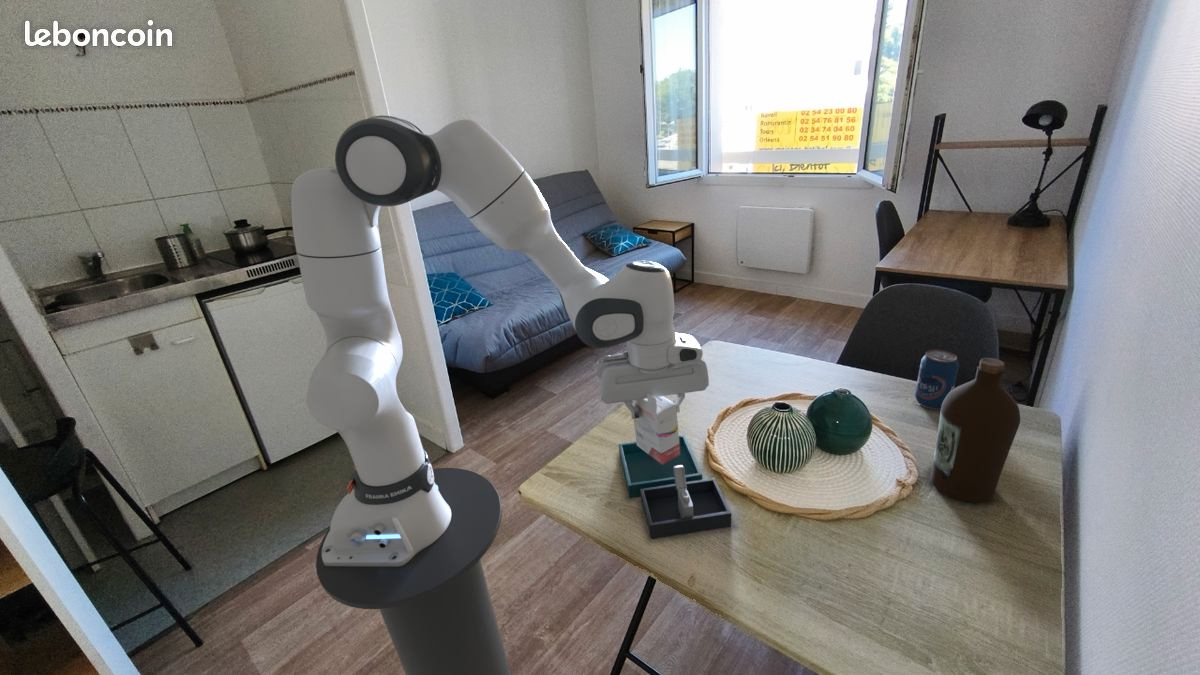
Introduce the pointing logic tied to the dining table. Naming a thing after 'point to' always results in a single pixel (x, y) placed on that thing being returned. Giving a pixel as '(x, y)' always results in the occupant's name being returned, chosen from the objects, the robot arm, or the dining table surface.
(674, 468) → the lighter
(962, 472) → the brown bottle
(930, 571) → the dining table surface
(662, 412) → the ink cartridge box
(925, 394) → the soda can
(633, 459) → the back tray
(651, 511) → the front tray
